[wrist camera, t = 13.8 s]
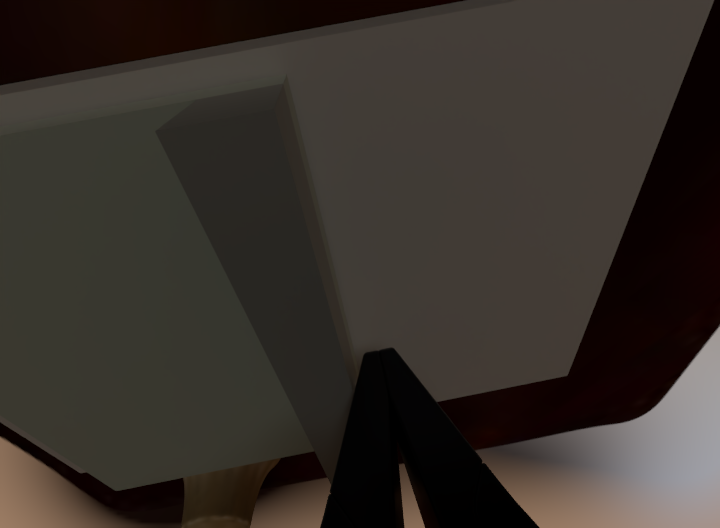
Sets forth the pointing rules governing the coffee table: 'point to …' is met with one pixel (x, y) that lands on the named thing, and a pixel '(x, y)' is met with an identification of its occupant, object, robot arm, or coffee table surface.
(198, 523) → the hand bell
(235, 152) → the lid
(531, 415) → the coffee table surface
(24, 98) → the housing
